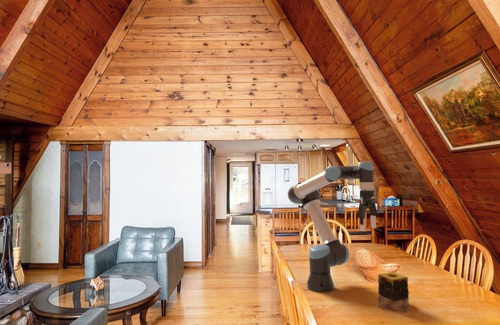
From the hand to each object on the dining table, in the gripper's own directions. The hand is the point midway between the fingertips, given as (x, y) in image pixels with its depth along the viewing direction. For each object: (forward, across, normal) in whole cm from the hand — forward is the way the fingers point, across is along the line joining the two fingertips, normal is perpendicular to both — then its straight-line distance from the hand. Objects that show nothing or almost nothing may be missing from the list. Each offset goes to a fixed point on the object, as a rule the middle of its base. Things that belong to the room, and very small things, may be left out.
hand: (368, 229), depth 180 cm
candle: (+30, -8, -15) cm, 35 cm away
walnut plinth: (+35, -8, -15) cm, 39 cm away
